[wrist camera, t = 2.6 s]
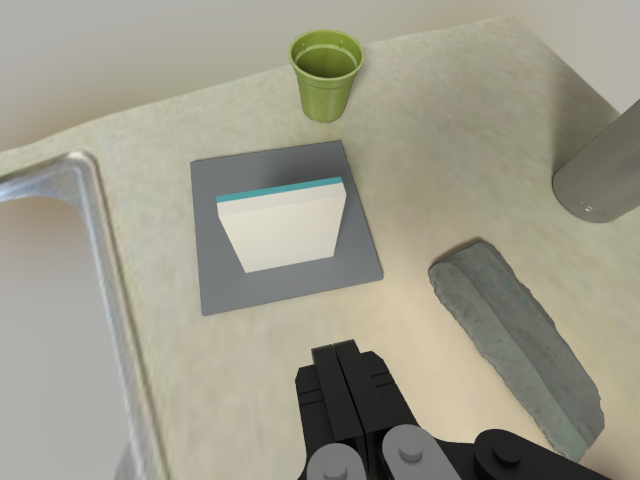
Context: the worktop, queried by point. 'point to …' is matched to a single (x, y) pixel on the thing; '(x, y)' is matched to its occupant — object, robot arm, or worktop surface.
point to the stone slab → (521, 346)
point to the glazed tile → (283, 223)
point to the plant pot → (325, 71)
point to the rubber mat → (290, 280)
